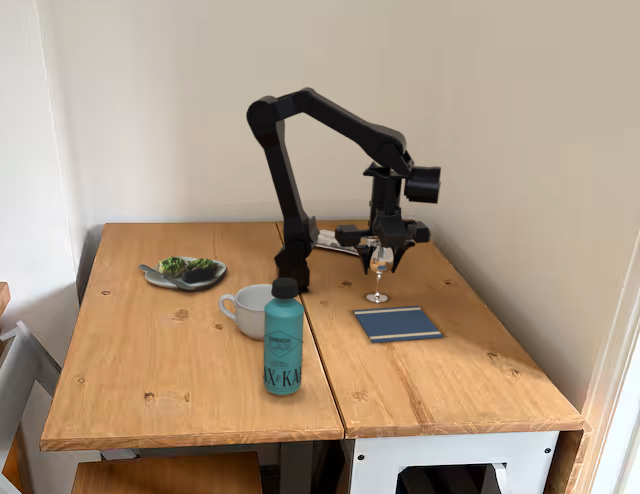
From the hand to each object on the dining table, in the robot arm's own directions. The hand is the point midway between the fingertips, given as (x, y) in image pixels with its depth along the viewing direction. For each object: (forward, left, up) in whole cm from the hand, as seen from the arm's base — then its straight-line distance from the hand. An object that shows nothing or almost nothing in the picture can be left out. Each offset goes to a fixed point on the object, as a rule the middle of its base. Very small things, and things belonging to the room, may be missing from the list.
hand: (378, 273), depth 149 cm
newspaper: (+3, +30, -6) cm, 31 cm away
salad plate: (-39, +17, -6) cm, 43 cm away
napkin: (0, -13, -6) cm, 14 cm away
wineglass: (0, 0, -6) cm, 6 cm away
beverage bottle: (-27, -35, -6) cm, 45 cm away
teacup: (-28, -12, -6) cm, 31 cm away
